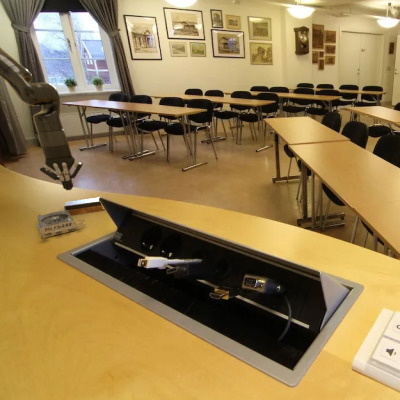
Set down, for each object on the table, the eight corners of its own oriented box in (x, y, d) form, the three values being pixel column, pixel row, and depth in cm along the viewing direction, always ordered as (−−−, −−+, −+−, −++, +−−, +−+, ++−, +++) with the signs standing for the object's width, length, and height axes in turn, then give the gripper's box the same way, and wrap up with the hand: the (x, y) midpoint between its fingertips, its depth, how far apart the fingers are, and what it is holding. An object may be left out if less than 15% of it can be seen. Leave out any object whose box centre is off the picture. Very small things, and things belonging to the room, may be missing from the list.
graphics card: (84, 219, 109) (38, 229, 101) (87, 229, 110) (42, 240, 102) (75, 205, 120) (33, 213, 112) (77, 214, 121) (36, 223, 113)
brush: (61, 206, 117) (103, 200, 123) (64, 201, 122) (104, 196, 127) (64, 216, 119) (105, 210, 124) (67, 210, 123) (106, 204, 129)
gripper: (79, 139, 118) (91, 183, 125) (33, 143, 112) (49, 189, 119) (75, 143, 112) (89, 189, 119) (27, 147, 106) (44, 195, 113)
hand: (69, 189), depth 119 cm, fingers closed
